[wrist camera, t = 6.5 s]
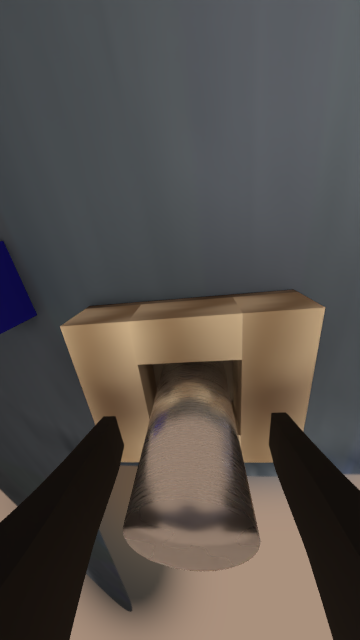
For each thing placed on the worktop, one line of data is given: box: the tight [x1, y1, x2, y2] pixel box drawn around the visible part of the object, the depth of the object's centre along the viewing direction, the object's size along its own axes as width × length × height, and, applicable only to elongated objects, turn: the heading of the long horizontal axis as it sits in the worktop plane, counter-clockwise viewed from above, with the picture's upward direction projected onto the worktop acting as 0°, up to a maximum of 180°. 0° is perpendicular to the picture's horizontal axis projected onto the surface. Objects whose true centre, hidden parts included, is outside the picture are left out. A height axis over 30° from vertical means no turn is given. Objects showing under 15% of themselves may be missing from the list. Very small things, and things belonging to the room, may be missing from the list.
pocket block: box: [60, 290, 325, 462], centre depth 12 cm, size 12×10×3 cm
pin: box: [123, 361, 260, 571], centre depth 10 cm, size 4×4×8 cm
